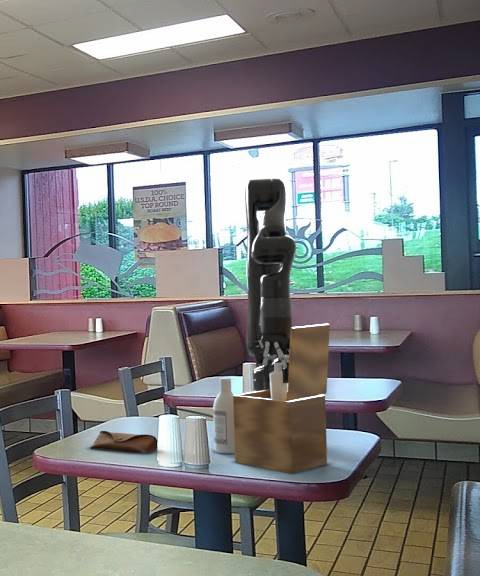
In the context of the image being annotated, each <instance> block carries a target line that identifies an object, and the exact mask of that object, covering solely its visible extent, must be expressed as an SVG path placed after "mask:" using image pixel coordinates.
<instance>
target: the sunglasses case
mask: <svg viewBox="0 0 480 576" xmlns="http://www.w3.org/2000/svg"><path fill="white" fill-rule="evenodd" d="M157 442H158V439H157V437H155V436H154V435H152V434H136V433H125V432H113V431H107V430H100V431H99V434H98V436H97V437H96V438H95V440H94V442H93V443H92V445H91V446H89V449H100V450H108V451H116V452H123V453H152V452H155V451H157V450H158V447H157Z"/></svg>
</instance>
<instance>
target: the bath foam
mask: <svg viewBox="0 0 480 576" xmlns="http://www.w3.org/2000/svg"><path fill="white" fill-rule="evenodd" d="M233 395H234V393H233V391H232V379H231V378H230V377H220V378H219V393H218V394H217V396H216V397H215V399H214V401H213V404H212V405H213V406H212V415H213V418H212V419H213V421H212V422H213V449H214V451H215V452H216V453H219V454H224V455H225V454H226V455H227V454H229V455H231V454H235V434H234V404H233Z"/></svg>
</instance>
